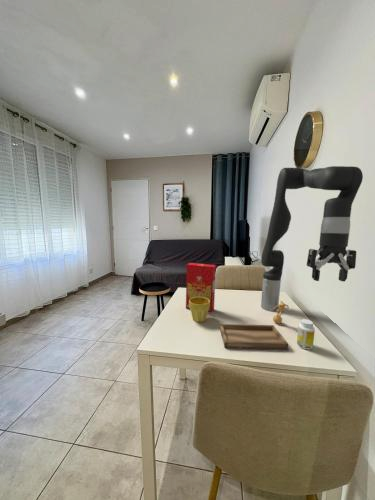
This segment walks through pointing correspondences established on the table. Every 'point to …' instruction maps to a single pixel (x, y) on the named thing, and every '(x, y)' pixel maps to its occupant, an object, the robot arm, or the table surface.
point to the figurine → (278, 318)
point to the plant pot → (199, 308)
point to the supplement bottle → (305, 334)
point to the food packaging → (200, 283)
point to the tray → (252, 337)
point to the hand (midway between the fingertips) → (328, 280)
